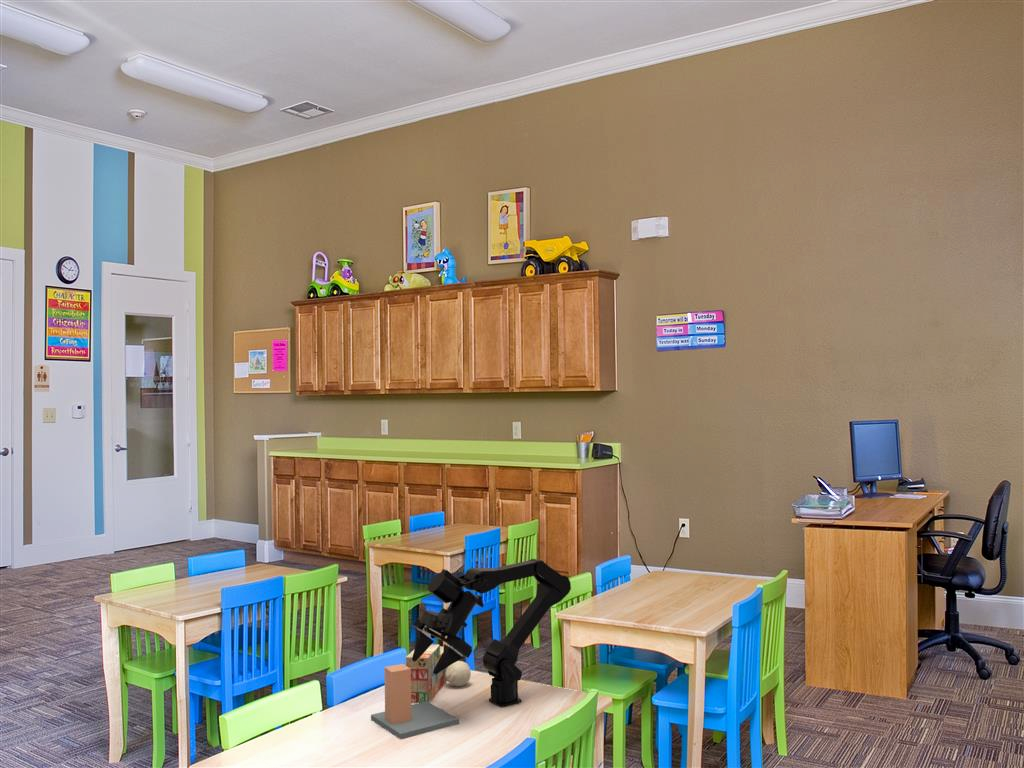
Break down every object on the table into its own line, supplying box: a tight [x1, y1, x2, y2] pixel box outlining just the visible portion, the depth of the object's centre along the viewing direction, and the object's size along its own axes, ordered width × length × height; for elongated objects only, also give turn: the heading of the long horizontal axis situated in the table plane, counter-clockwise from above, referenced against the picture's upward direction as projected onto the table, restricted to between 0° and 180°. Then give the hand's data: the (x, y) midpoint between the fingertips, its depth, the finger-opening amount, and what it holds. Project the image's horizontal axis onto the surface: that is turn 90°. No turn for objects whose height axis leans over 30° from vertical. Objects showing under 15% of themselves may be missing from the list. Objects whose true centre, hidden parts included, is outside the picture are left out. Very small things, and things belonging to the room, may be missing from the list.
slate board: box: [370, 701, 460, 740], centre depth 206 cm, size 16×16×1 cm
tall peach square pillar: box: [383, 663, 412, 724], centre depth 205 cm, size 5×5×12 cm
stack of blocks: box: [405, 644, 448, 704], centre depth 231 cm, size 21×6×12 cm, turn 170°
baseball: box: [445, 660, 472, 687], centre depth 234 cm, size 7×7×7 cm
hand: (423, 667), depth 208 cm, fingers open, 9 cm apart
